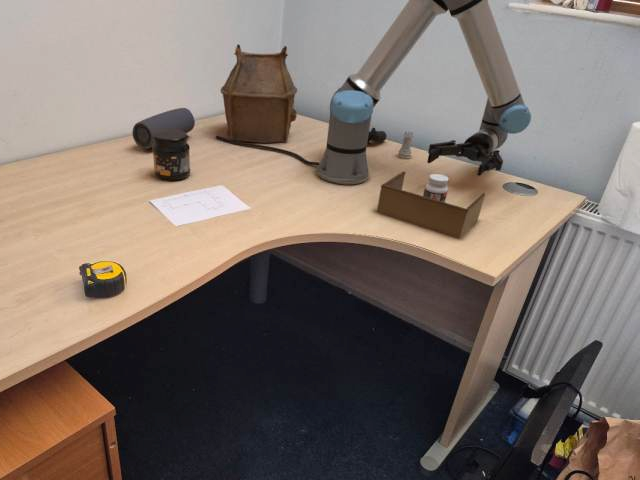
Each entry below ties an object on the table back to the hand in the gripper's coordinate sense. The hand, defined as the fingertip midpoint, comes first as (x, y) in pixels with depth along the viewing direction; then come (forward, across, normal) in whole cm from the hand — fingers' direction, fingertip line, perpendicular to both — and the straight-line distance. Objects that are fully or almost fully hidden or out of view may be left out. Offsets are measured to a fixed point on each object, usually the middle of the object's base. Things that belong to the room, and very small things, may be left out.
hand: (453, 164), depth 137 cm
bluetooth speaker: (+18, +91, -10) cm, 93 cm away
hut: (-11, +74, -11) cm, 75 cm away
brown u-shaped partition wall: (+12, 0, -11) cm, 16 cm away
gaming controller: (-32, +43, -11) cm, 55 cm away
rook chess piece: (-27, +24, -11) cm, 38 cm away
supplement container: (+37, +68, -11) cm, 78 cm away
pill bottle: (+10, 0, -11) cm, 15 cm away
